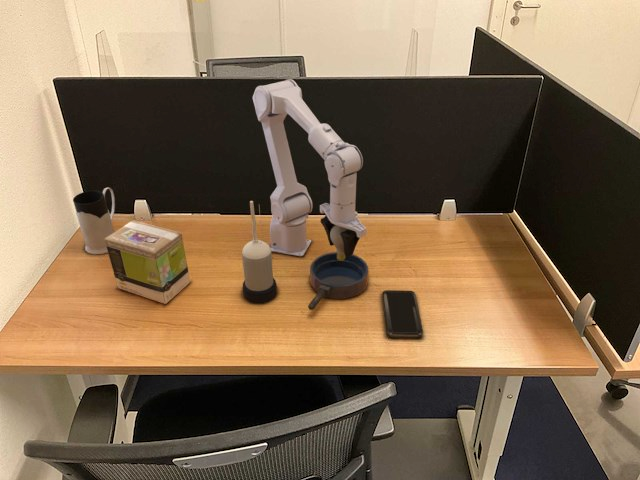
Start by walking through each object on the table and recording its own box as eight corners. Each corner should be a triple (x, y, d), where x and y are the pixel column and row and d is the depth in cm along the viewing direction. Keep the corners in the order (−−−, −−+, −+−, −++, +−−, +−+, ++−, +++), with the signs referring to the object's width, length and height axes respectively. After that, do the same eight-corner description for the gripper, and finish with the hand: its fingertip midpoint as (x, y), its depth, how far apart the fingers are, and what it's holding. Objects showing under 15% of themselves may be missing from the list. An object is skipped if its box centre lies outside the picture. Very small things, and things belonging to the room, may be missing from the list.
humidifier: (252, 279, 127) (243, 190, 113) (282, 286, 125) (277, 196, 111) (237, 299, 121) (226, 207, 107) (268, 307, 118) (261, 214, 105)
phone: (387, 334, 109) (382, 290, 121) (386, 338, 109) (381, 293, 122) (424, 335, 109) (415, 290, 121) (423, 338, 109) (414, 294, 122)
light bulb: (352, 254, 125) (354, 219, 120) (351, 267, 121) (353, 231, 115) (330, 252, 126) (331, 218, 120) (328, 265, 121) (329, 230, 116)
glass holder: (78, 252, 137) (62, 203, 129) (107, 225, 149) (95, 179, 141) (107, 256, 136) (93, 207, 128) (134, 228, 147) (123, 182, 139)
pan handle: (323, 288, 121) (323, 282, 120) (332, 290, 120) (332, 285, 119) (305, 309, 114) (305, 304, 114) (314, 313, 114) (314, 307, 113)
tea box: (191, 281, 126) (183, 231, 118) (165, 306, 119) (154, 254, 111) (144, 266, 132) (132, 217, 123) (116, 289, 124) (102, 238, 116)
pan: (302, 293, 122) (302, 280, 120) (320, 260, 134) (320, 248, 132) (360, 304, 119) (360, 291, 117) (373, 270, 130) (373, 257, 128)
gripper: (378, 206, 111) (374, 257, 119) (336, 182, 121) (335, 230, 128) (353, 216, 108) (351, 268, 115) (312, 191, 117) (313, 240, 125)
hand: (341, 249), depth 122 cm, fingers closed on light bulb, 5 cm apart
